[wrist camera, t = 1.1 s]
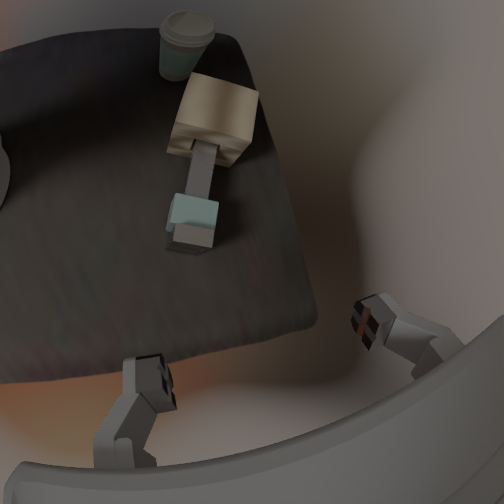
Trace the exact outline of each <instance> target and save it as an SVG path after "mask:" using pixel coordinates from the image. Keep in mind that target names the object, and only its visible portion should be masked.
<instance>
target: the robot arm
mask: <svg viewBox="0 0 504 504" xmlns="http://www.w3.org/2000/svg"><path fill="white" fill-rule="evenodd" d="M9 180H10V163H9V159H8V156H7V154H6V152H5V151H4V149H3V147H2V142H1V134H0V207H1V205H2V203H3V200H4V198H5V195H6V192H7V189H8V185H9ZM354 308H355V311H354V313H353V314H352V316H351V325H352V327H353V330H354V331H355V333H356V334H357V335H360V336H362V340H361V341H362V343H363V344H364V346H365V347H366V348H367V349H368V351H369V352H370V351H372V350H374V349H377V348H379V347H381V346H384V347H386V348H388V349H390V350H391V351H393V352H395V353H397V354H398V355H400V356H402V357H404V358H405V359H407V360H409V361H411V362H413V363H414V364H416V365H415V367H414V368H413V370H412V372H411V375H412V376H413V378H414V379H415V381H413V382H412V383H410V384H408V385H406V386H405V387H403V388H401V389H400V390H398V391H396V392H394V393H393V394H391V395H389V396H387V397H386V398H383V399H381V400H380V401H378V402H376V403H374V404H372V405H370V406H368V407H366V408H364V409H362V410H360V411H357V412H356V413H353V414H351V415H349V416H347V417H344V418H342V419H340V420H338V421H335V422H333V423H330V424H328V425H326V426H323V427H321V428H318V429H315V430H313V431H310V432H307V433H305V434H302V435H299V436H296V437H293V438H291V439H287V440H284V441H281V442H278V443H275V444H272V445H268V446H265V447H261V448H257V449H254V450H250V451H246V452H242V453H238V454H234V455H229V456H225V457H219V458H214V459H209V460H204V461H199V462H192V463H185V464H177V465H169V466H159V467H157V463H156V458H155V457H153V456H152V455H151V454H149V453H147V452H146V451H145V450H144V449H143V448H144V446H145V443H146V441H147V438H148V436H149V434H150V431H151V429H152V427H153V424H154V422H155V419H156V417H157V413H163V412H168V411H174V410H177V406H176V400H175V395H174V393H173V392H172V388H173V386H174V385H173V379H172V375H171V372H170V369H169V367H168V365H167V364H165V363H164V357H163V356H162V354H161V353H160V354H154V355H147V356H140V357H133V358H127V359H124V362H123V395H119V397H118V399H117V400H116V402H115V403H114V405H113V406H112V408H111V410H110V411H109V413H108V414H107V416H106V418H105V419H104V421H103V423H102V424H101V426H100V427H99V429H98V431H97V432H96V434H95V436H94V437H93V455H94V468H93V469H92V468H75V467H63V466H53V465H46V464H40V463H34V462H27V461H25V462H21V463H20V464H19V465H18V466H17V467H16V468H15V470H14V471H13V473H12V474H11V475H10V477H9V478H8V480H7V482H6V484H5V487H4V493H3V504H504V315H502V316H500V317H499V318H498V319H497V320H495V321H494V322H493V323H492V324H491V325H490V326H489V327H488V328H486V329H485V330H484V331H483V332H482V333H480V334H479V335H478V336H477V337H476V338H474V339H473V340H472V341H471V342H469V343H468V344H467V345H464V344H463V343H462V342H461V341H460V339H459V338H458V337H457V336H456V335H455V334H454V333H453V332H452V330H451V329H450V328H448V327H445V326H443V325H440V324H438V323H435V322H432V321H430V320H428V319H425V318H422V317H420V316H417V315H415V314H412V313H410V312H408V313H406V312H405V311H404V310H403V309H402V308H401V307H400V305H398V303H397V302H396V301H395V300H394V299H393V298H392V297H391V296H390V295H389V294H388V293H387V292H385V291H382V292H379V293H377V294H373V295H371V296H368V297H365V298H363V299H360V300H357V301H356V302H355V304H354Z"/></svg>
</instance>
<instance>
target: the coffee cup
mask: <svg viewBox="0 0 504 504" xmlns="http://www.w3.org/2000/svg"><path fill="white" fill-rule="evenodd" d="M160 34H161V43H160V61H159V72H160V75H161V76H162V77H163V78H165V79H166V80H169V81H182V80H185V79H187V78H188V77H189V76H190V74H191V73H192V71H193V69H194V67H195V66H196V64H197V62H198V60H199V59H200V57H201V55H202V54H203V52H204V50H205V49H206V47H207V45H208V44H209V43H210V42H211V41H212V40H213V39H214V36H215V23H214V21H213V20H212V19H211V18H210V17H209V16H208V15H206V14H204V13H201V12H198V11H193V10H180V11H176V12H174V13H171V14H170V15H169V16H168V17H167V18H166V20H164V21H163V23H162V25H161V26H160Z"/></svg>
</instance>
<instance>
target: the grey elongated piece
mask: <svg viewBox="0 0 504 504" xmlns="http://www.w3.org/2000/svg"><path fill="white" fill-rule="evenodd" d="M217 147H218V144H214V143H210V142H206V141H202V140H198V139H195V140H194V144H193V148H192V152H191V156H190V161H189V165H188V170H187V174H186V179H185V184H184V189H183V193H182V194H183V195H188V196H193V197H197V198H202V199H207V200H208V195H209V190H210V184H211V179H212V173H213V168H214V162H215V157H216V152H217ZM214 231H215V230H211V229H206V228H201V227H196V226H191V225H186V224H181V223H175V225H174V227H173V228H172V230H171V232H170V233H169V235H168V240H167V246H166V250H169V251H174V252H180V253H186V254H192V255H199V254H201V253H203V252H205V251H207V250H209V249H211V248H212V245H213V238H214Z"/></svg>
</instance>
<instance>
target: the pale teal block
mask: <svg viewBox="0 0 504 504" xmlns="http://www.w3.org/2000/svg"><path fill="white" fill-rule="evenodd" d="M218 206H219V202H216V201H211V200H207V199H202V198H197V197H193V196H188V195H183V194H179V193H176V194H175V196H174V198H173V201H172V203H171V206H170V211H169V216H168V221H167V227H166V231H169V232H171V230H172V228H173V227H174V225H175V223H181V224H186V225H191V226H196V227H201V228H206V229H211V230H215V226H216V219H217V212H218Z"/></svg>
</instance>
